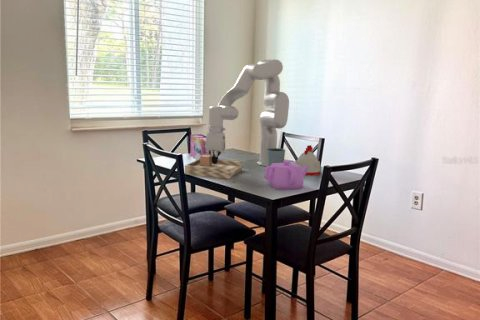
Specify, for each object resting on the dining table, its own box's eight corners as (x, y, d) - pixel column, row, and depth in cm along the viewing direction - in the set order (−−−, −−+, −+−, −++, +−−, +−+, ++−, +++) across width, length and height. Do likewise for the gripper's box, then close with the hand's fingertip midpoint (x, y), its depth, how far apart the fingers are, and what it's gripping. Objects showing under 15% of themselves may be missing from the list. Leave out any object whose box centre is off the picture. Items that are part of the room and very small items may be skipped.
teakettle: (261, 187, 197) (262, 161, 194) (275, 180, 212) (277, 156, 209) (296, 193, 189) (297, 166, 187) (308, 185, 204) (310, 160, 202)
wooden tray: (241, 170, 232) (242, 162, 231) (229, 178, 211) (229, 169, 210) (201, 166, 238) (201, 158, 238) (184, 174, 218) (184, 165, 217)
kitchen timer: (323, 172, 233) (325, 145, 230) (313, 176, 222) (315, 148, 219) (301, 168, 241) (302, 142, 238) (289, 172, 230) (291, 145, 227)
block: (211, 164, 232) (212, 155, 231) (208, 166, 227) (208, 157, 226) (203, 163, 233) (203, 154, 232) (199, 165, 228) (200, 156, 227)
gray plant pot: (283, 173, 227) (284, 151, 224) (264, 172, 229) (265, 150, 226) (284, 169, 236) (286, 148, 234) (266, 168, 238) (267, 147, 236)
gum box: (214, 162, 251) (215, 139, 248) (201, 163, 248) (202, 140, 245) (201, 155, 272) (202, 134, 270) (189, 155, 269) (190, 134, 267)
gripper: (231, 129, 226) (230, 163, 230) (205, 127, 231) (204, 161, 234) (226, 131, 219) (225, 166, 223) (199, 129, 224) (199, 163, 227)
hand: (214, 163), depth 228 cm, fingers closed
